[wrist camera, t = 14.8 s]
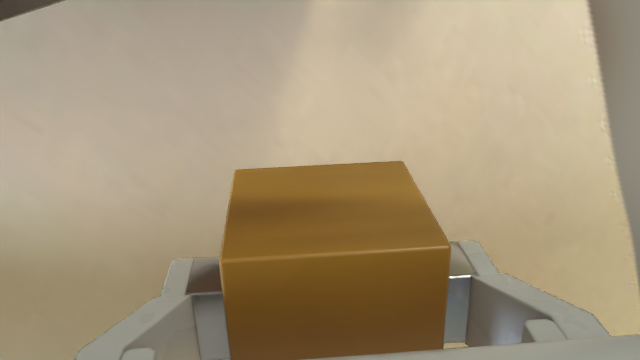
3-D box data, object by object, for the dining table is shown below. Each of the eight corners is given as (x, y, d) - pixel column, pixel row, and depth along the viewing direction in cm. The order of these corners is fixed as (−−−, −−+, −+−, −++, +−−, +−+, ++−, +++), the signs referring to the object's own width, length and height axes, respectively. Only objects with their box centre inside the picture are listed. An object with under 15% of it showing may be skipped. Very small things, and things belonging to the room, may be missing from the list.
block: (398, 298, 16) (439, 418, 12) (247, 309, 16) (238, 434, 12) (403, 159, 14) (453, 245, 10) (233, 168, 14) (217, 260, 10)
